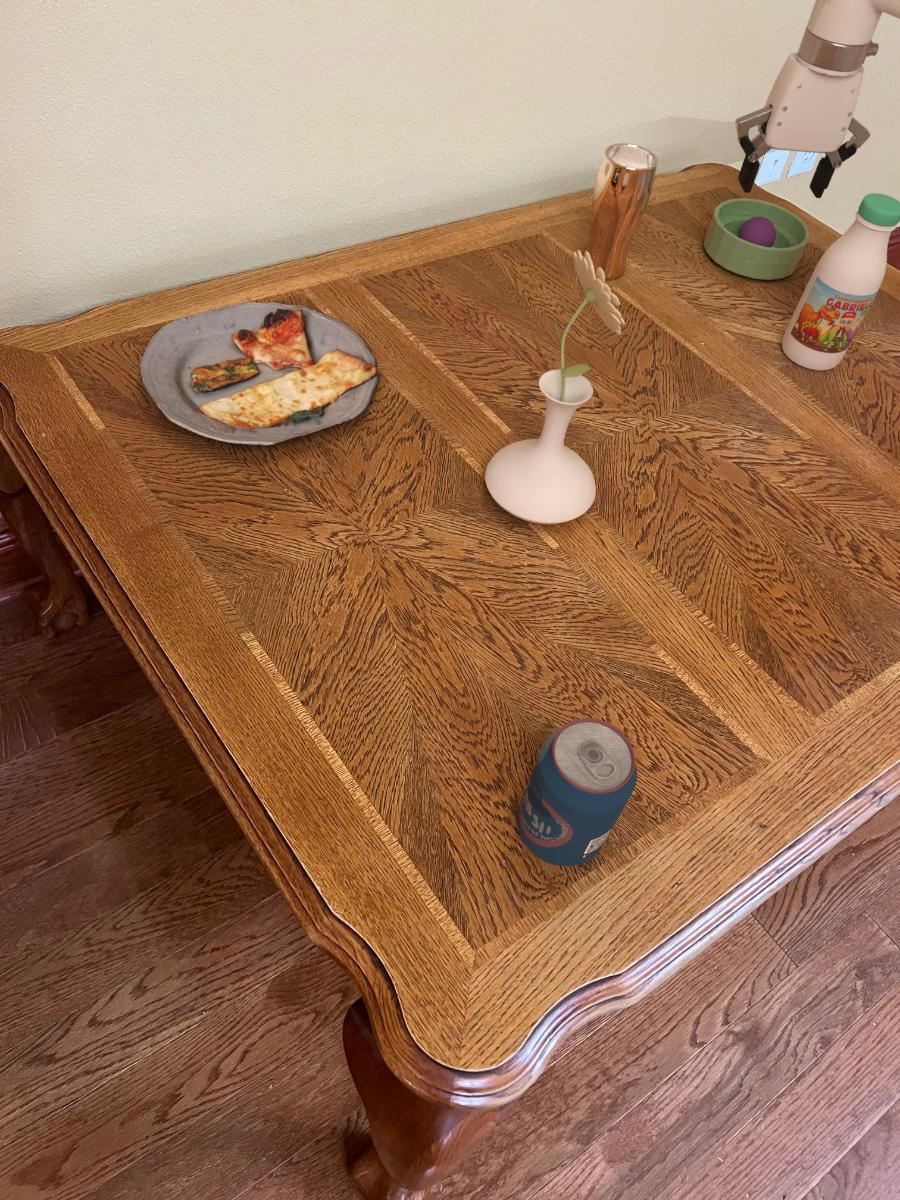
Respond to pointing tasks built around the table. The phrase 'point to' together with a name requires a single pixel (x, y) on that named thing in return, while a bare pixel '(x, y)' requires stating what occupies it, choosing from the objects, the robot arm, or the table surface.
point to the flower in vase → (555, 430)
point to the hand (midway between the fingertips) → (779, 190)
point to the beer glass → (619, 205)
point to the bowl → (754, 257)
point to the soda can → (576, 791)
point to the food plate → (259, 372)
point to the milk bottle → (842, 287)
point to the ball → (758, 231)
